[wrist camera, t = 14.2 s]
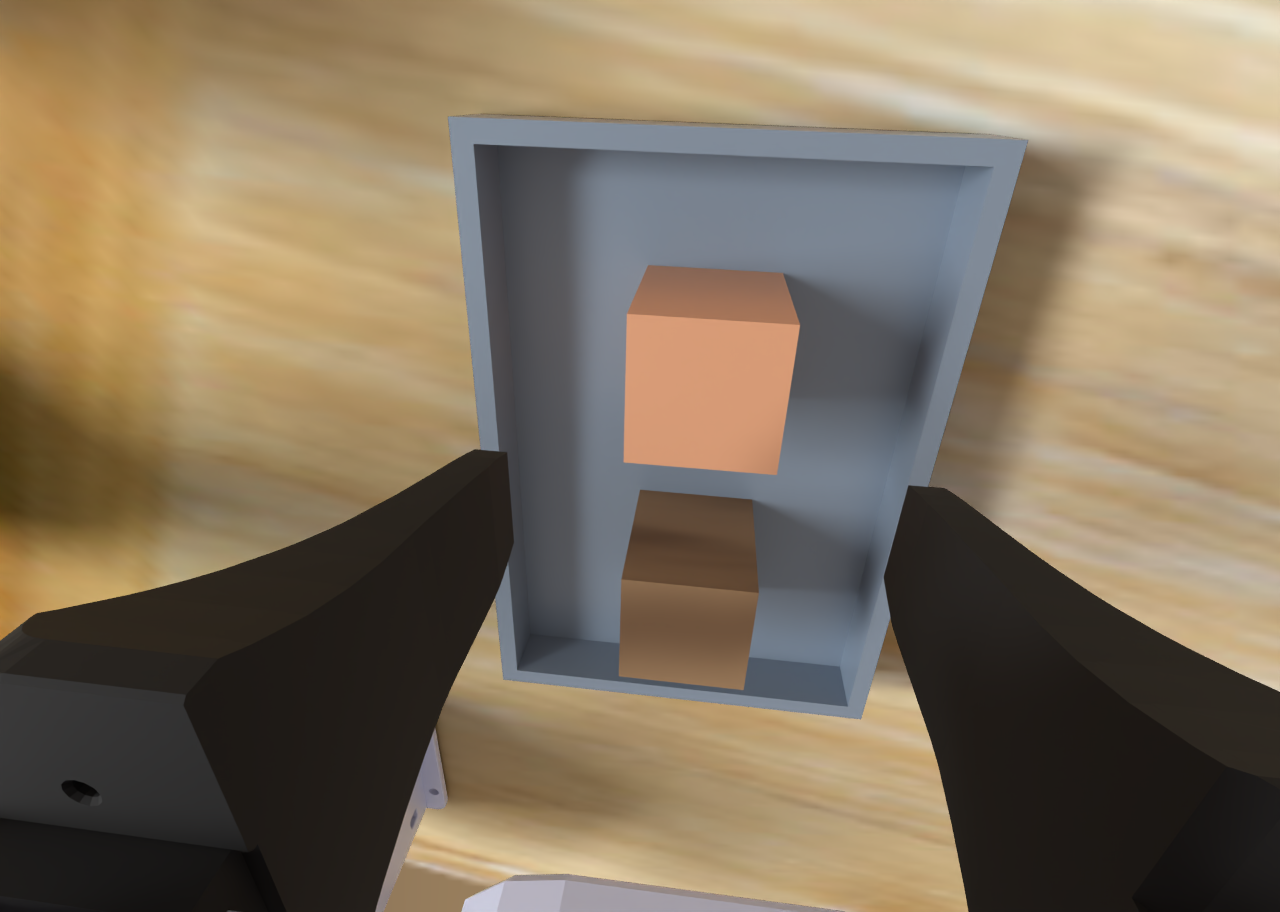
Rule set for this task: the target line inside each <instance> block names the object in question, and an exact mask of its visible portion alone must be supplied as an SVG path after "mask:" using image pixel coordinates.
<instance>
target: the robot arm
mask: <svg viewBox="0 0 1280 912" xmlns="http://www.w3.org/2000/svg"><path fill="white" fill-rule="evenodd" d="M513 544H514V534H513V521H512V508H511V495H510V482H509V469H508V456H507V452H500V451H488V450H476V449H475V450H473V451H471V452H469V453H467V454H465V455H463V456H461V457H459V458H458V459H456V460H454V461H452V462H451V463H449V464H447V465H446V466H444V467H442V468H441V469H439V470H437V471H436V472H434V473H432V474H431V475H429V476H427V477H426V478H424V479H422V480H421V481H419V482H417V483H415V484H414V485H412V486H410V487H409V488H407V489H405V490H404V491H402V492H400V493H398V494H397V495H395V496H393V497H391V498H389V499H387V500H386V501H384V502H382V503H380V504H378V505H376V506H374V507H372V508H371V509H369V510H367V511H365V512H363V513H361V514H359V515H357V516H355V517H354V518H352V519H350V520H348V521H346V522H344V523H342V524H339V525H337V526H335V527H333V528H331V529H329V530H326V531H324V532H322V533H320V534H317V535H315V536H313V537H310V538H308V539H306V540H303V541H301V542H298V543H296V544H294V545H291V546H289V547H286V548H283V549H281V550H278V551H275V552H272V553H269V554H266V555H264V556H261V557H258V558H255V559H252V560H249V561H246V562H244V563H241V564H238V565H235V566H232V567H229V568H226V569H223V570H220V571H217V572H213V573H210V574H206V575H203V576H200V577H196V578H193V579H189V580H186V581H182V582H178V583H174V584H171V585H167V586H163V587H159V588H155V589H151V590H147V591H143V592H139V593H135V594H130V595H126V596H121V597H116V598H112V599H107V600H102V601H97V602H92V603H87V604H82V605H78V606H73V607H68V608H63V609H58V610H53V611H47V612H41V613H37V614H35V615H33V616H32V617H30V618H29V619H28V620H26V621H25V622H24V623H23V624H21V625H20V626H19V627H17V628H16V629H15V630H14V631H12V632H11V633H10V634H8V635H7V636H6V637H5V638H3V639H2V640H1V641H0V912H383V911H384V909H385V906H386V904H387V901H388V899H389V897H390V894H391V892H392V890H393V887H394V885H395V882H396V880H397V877H398V875H399V873H400V870H401V868H402V865H403V863H404V861H405V858H406V856H407V853H408V851H409V849H410V846H411V844H412V841H413V839H414V836H415V834H416V832H417V829H418V827H419V824H420V822H421V820H422V817H423V815H424V812H425V810H426V808H432V809H442V808H444V807H445V806H446V804H447V801H448V796H447V791H446V785H445V779H444V774H443V768H442V763H441V757H440V752H439V746H438V740H437V735H436V729H435V727H436V724H437V721H438V718H439V715H440V713H441V710H442V707H443V705H444V703H445V701H446V698H447V696H448V694H449V691H450V689H451V687H452V685H453V683H454V680H455V678H456V676H457V674H458V672H459V670H460V668H461V666H462V664H463V662H464V660H465V658H466V656H467V654H468V652H469V650H470V648H471V646H472V644H473V642H474V640H475V638H476V636H477V634H478V632H479V630H480V628H481V625H482V623H483V621H484V619H485V617H486V615H487V613H488V611H489V609H490V607H491V605H492V603H493V601H494V599H495V596H496V594H497V592H498V590H499V588H500V585H501V582H502V579H503V576H504V573H505V570H506V567H507V564H508V561H509V557H510V554H511V551H512V548H513ZM884 583H885V589H886V595H887V601H888V607H889V612H890V617H891V622H892V627H893V630H894V633H895V636H896V639H897V642H898V645H899V648H900V651H901V654H902V657H903V660H904V663H905V666H906V669H907V672H908V675H909V678H910V681H911V683H912V686H913V689H914V692H915V695H916V698H917V701H918V704H919V707H920V710H921V713H922V715H923V718H924V721H925V724H926V727H927V730H928V733H929V736H930V739H931V742H932V745H933V749H934V752H935V756H936V759H937V762H938V766H939V770H940V775H941V779H942V783H943V788H944V792H945V797H946V801H947V806H948V810H949V814H950V819H951V823H952V828H953V833H954V838H955V843H956V848H957V853H958V858H959V863H960V868H961V873H962V878H963V883H964V888H965V894H966V899H967V905H968V911H969V912H1280V692H1279V691H1277V690H1275V689H1272V688H1270V687H1268V686H1266V685H1264V684H1261V683H1259V682H1257V681H1255V680H1252V679H1250V678H1248V677H1246V676H1244V675H1242V674H1239V673H1237V672H1235V671H1233V670H1231V669H1229V668H1227V667H1225V666H1223V665H1221V664H1219V663H1217V662H1215V661H1213V660H1211V659H1209V658H1207V657H1205V656H1203V655H1201V654H1199V653H1197V652H1195V651H1193V650H1191V649H1189V648H1187V647H1185V646H1183V645H1181V644H1179V643H1177V642H1175V641H1173V640H1172V639H1170V638H1168V637H1166V636H1164V635H1162V634H1160V633H1158V632H1157V631H1155V630H1153V629H1151V628H1150V627H1148V626H1146V625H1144V624H1143V623H1141V622H1139V621H1138V620H1136V619H1134V618H1132V617H1131V616H1129V615H1127V614H1125V613H1124V612H1122V611H1120V610H1118V609H1117V608H1115V607H1113V606H1112V605H1110V604H1108V603H1107V602H1105V601H1104V600H1102V599H1100V598H1099V597H1097V596H1095V595H1094V594H1092V593H1091V592H1089V591H1088V590H1086V589H1085V588H1083V587H1082V586H1080V585H1079V584H1077V583H1076V582H1074V581H1073V580H1071V579H1070V578H1068V577H1067V576H1065V575H1064V574H1062V573H1061V572H1059V571H1058V570H1056V569H1055V568H1054V567H1052V566H1051V565H1049V564H1048V563H1046V562H1045V561H1044V560H1042V559H1041V558H1039V557H1038V556H1037V555H1035V554H1034V553H1033V552H1031V551H1030V550H1028V549H1027V548H1026V547H1024V546H1023V545H1022V544H1020V543H1019V542H1018V541H1016V540H1015V539H1014V538H1012V537H1011V536H1010V535H1008V534H1007V533H1006V532H1004V531H1003V530H1002V529H1000V528H999V527H998V526H996V525H995V524H994V523H992V522H991V521H990V520H988V519H987V518H986V517H985V516H983V515H982V514H981V513H979V512H978V511H977V510H975V509H974V508H973V507H971V506H970V505H969V504H967V503H966V502H964V501H963V500H962V499H960V498H959V497H957V496H956V495H954V494H953V493H951V492H950V491H948V490H947V489H945V488H936V487H924V486H912V485H908V488H907V492H906V496H905V499H904V503H903V507H902V510H901V514H900V518H899V522H898V525H897V529H896V533H895V536H894V540H893V544H892V547H891V551H890V555H889V558H888V562H887V566H886V569H885V573H884ZM462 912H844V911H838V910H831V909H823V908H816V907H808V906H801V905H793V904H786V903H779V902H771V901H764V900H756V899H749V898H742V897H734V896H727V895H719V894H712V893H704V892H697V891H690V890H682V889H675V888H667V887H660V886H653V885H645V884H638V883H630V882H623V881H615V880H608V879H601V878H593V877H586V876H578V875H571V874H550V875H514V876H512V877H510V878H508V879H506V880H504V881H502V882H499V883H497V884H495V885H493V886H491V887H489V888H487V889H484V890H482V891H480V892H479V893H477V894H475V895H473V896H471V897H469V898H467V899H466V900H465V902H464V905H463V909H462Z"/></svg>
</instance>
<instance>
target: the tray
mask: <svg viewBox="0 0 1280 912" xmlns="http://www.w3.org/2000/svg"><path fill="white" fill-rule="evenodd" d="M448 122H449V132H450V142H451V152H452V162H453V173H454V183H455V193H456V203H457V213H458V223H459V234H460V244H461V254H462V264H463V274H464V284H465V295H466V305H467V315H468V325H469V335H470V345H471V356H472V366H473V376H474V386H475V396H476V406H477V416H478V427H479V437H480V447H481V450H488V451H500V452H507V456H508V469H509V482H510V495H511V508H512V521H513V534H514V544H513V548H512V551H511V554H510V557H509V561H508V564H507V567H506V570H505V573H504V576H503V579H502V582H501V585H500V588H499V590H498V592H497V594H496V596H495V599H496V610H497V620H498V630H499V640H500V650H501V660H502V670H503V680H512V681H521V682H530V683H539V684H548V685H557V686H566V687H575V688H584V689H593V690H602V691H611V692H620V693H629V694H638V695H647V696H656V697H665V698H674V699H683V700H692V701H701V702H710V703H719V704H728V705H737V706H746V707H755V708H764V709H773V710H782V711H791V712H800V713H809V714H818V715H827V716H836V717H845V718H854V719H861V718H862V714H863V711H864V707H865V704H866V700H867V697H868V693H869V690H870V686H871V683H872V680H873V676H874V673H875V669H876V666H877V662H878V659H879V655H880V652H881V648H882V645H883V641H884V638H885V634H886V631H887V628H888V624H889V621H890V612H889V607H888V601H887V595H886V589H885V583H884V573H885V569H886V566H887V562H888V558H889V555H890V551H891V547H892V544H893V540H894V536H895V533H896V529H897V525H898V522H899V518H900V514H901V510H902V507H903V503H904V499H905V496H906V492H907V488H908V485H912V486H924V487H928V485H929V482H930V479H931V475H932V472H933V468H934V465H935V461H936V458H937V454H938V451H939V447H940V444H941V440H942V437H943V434H944V430H945V427H946V423H947V420H948V416H949V413H950V409H951V406H952V402H953V399H954V395H955V392H956V388H957V385H958V382H959V378H960V375H961V371H962V368H963V364H964V361H965V357H966V354H967V350H968V347H969V343H970V340H971V337H972V333H973V330H974V326H975V323H976V319H977V316H978V312H979V309H980V305H981V302H982V298H983V295H984V291H985V288H986V285H987V281H988V278H989V274H990V271H991V267H992V264H993V260H994V257H995V253H996V250H997V246H998V243H999V240H1000V236H1001V233H1002V229H1003V226H1004V222H1005V219H1006V215H1007V212H1008V208H1009V205H1010V201H1011V198H1012V194H1013V191H1014V188H1015V184H1016V181H1017V177H1018V174H1019V170H1020V167H1021V163H1022V160H1023V156H1024V153H1025V149H1026V146H1027V143H1028V140H1024V139H1018V138H1011V137H1005V136H998V135H992V134H972V133H947V132H922V131H897V130H872V129H847V128H822V127H797V126H772V125H747V124H722V123H697V122H672V121H647V120H622V119H597V118H573V117H548V116H523V115H498V114H472V115H460V116H449V117H448ZM648 265H655V266H672V267H689V268H706V269H724V270H741V271H758V272H775V273H783V275H784V278H785V281H786V284H787V287H788V290H789V293H790V296H791V299H792V302H793V305H794V308H795V311H796V314H797V317H798V320H799V323H800V329H799V336H798V342H797V349H796V355H795V361H794V368H793V374H792V381H791V387H790V394H789V400H788V407H787V413H786V419H785V426H784V432H783V439H782V445H781V452H780V458H779V465H778V471H777V475H770V474H758V473H746V472H733V471H721V470H709V469H697V468H685V467H673V466H661V465H649V464H637V463H625V462H624V419H625V374H626V330H627V312H628V310H629V308H630V306H631V303H632V301H633V299H634V296H635V294H636V292H637V289H638V287H639V285H640V283H641V280H642V278H643V276H644V273H645V271H646V269H647V267H648ZM640 490H650V491H662V492H673V493H684V494H696V495H707V496H719V497H730V498H741V499H752V503H753V517H754V531H755V545H756V559H757V573H758V587H759V596H758V602H757V608H756V615H755V621H754V627H753V634H752V640H751V646H750V653H749V659H748V665H747V672H746V678H745V684H744V690H738V689H729V688H720V687H711V686H702V685H693V684H684V683H675V682H666V681H657V680H648V679H639V678H630V677H621V676H619V647H620V608H621V578H622V573H623V569H624V564H625V559H626V554H627V549H628V545H629V540H630V535H631V530H632V526H633V521H634V516H635V511H636V506H637V502H638V497H639V492H640Z"/></svg>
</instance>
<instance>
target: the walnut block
mask: <svg viewBox="0 0 1280 912" xmlns="http://www.w3.org/2000/svg"><path fill="white" fill-rule="evenodd" d="M758 596H759V587H758V573H757V559H756V545H755V531H754V517H753V503H752V499H741V498H730V497H719V496H707V495H696V494H684V493H673V492H662V491H650V490H640V492H639V497H638V502H637V506H636V511H635V516H634V521H633V526H632V530H631V535H630V540H629V545H628V549H627V554H626V559H625V564H624V569H623V573H622V578H621V608H620V647H619V676H621V677H630V678H639V679H648V680H657V681H666V682H675V683H684V684H693V685H702V686H711V687H720V688H729V689H738V690H744V684H745V678H746V672H747V665H748V659H749V653H750V646H751V640H752V634H753V627H754V621H755V615H756V608H757V602H758Z"/></svg>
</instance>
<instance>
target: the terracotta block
mask: <svg viewBox="0 0 1280 912" xmlns="http://www.w3.org/2000/svg"><path fill="white" fill-rule="evenodd" d="M799 329H800V323H799V320H798V317H797V314H796V311H795V308H794V305H793V302H792V299H791V296H790V293H789V290H788V287H787V284H786V281H785V278H784V275H783V273H775V272H758V271H741V270H724V269H706V268H689V267H672V266H655V265H648V267H647V269H646V271H645V273H644V276H643V278H642V280H641V283H640V285H639V287H638V289H637V292H636V294H635V296H634V299H633V301H632V303H631V306H630V308H629V310H628V312H627V330H626V374H625V419H624V462H625V463H637V464H649V465H661V466H673V467H685V468H697V469H709V470H721V471H733V472H746V473H758V474H770V475H777V471H778V465H779V458H780V452H781V445H782V439H783V432H784V426H785V419H786V413H787V407H788V400H789V394H790V387H791V381H792V374H793V368H794V361H795V355H796V349H797V342H798V336H799Z"/></svg>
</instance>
